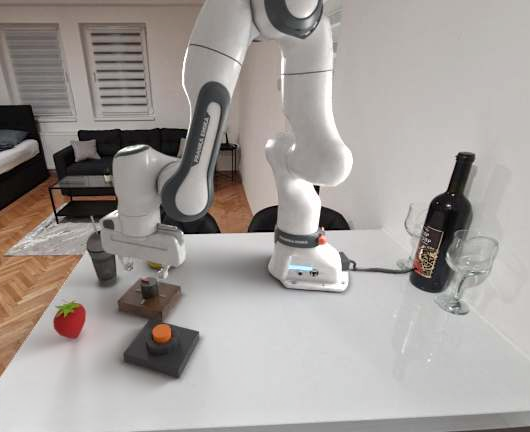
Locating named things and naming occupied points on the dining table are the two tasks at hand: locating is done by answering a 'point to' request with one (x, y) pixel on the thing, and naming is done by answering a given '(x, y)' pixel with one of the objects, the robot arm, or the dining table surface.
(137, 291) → the panel
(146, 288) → the temp dial
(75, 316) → the strawberry
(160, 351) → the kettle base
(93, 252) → the beverage cup
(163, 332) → the orange button cap
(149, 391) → the dining table surface
